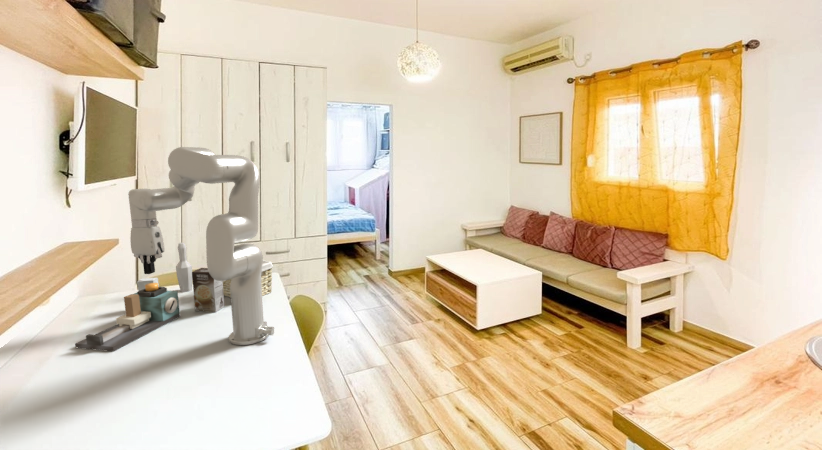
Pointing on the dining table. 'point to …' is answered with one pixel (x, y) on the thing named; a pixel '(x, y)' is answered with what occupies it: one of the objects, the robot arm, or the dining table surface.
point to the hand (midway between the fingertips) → (149, 273)
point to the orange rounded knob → (151, 287)
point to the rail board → (117, 336)
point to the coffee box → (207, 291)
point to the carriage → (133, 313)
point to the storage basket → (265, 280)
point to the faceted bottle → (184, 270)
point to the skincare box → (146, 282)
